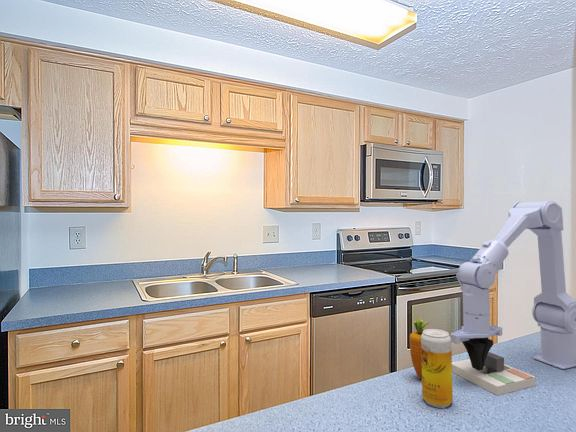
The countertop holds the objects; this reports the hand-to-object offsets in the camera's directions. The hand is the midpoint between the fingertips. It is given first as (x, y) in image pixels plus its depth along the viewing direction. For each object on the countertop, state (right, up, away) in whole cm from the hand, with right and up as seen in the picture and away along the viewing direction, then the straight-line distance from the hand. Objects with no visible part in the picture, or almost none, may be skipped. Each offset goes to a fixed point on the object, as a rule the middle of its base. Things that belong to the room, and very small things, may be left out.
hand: (477, 368), depth 88 cm
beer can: (-13, -4, -9) cm, 17 cm away
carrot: (-13, -4, +2) cm, 14 cm away
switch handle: (+5, -3, +2) cm, 6 cm away
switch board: (+4, -3, +1) cm, 5 cm away
